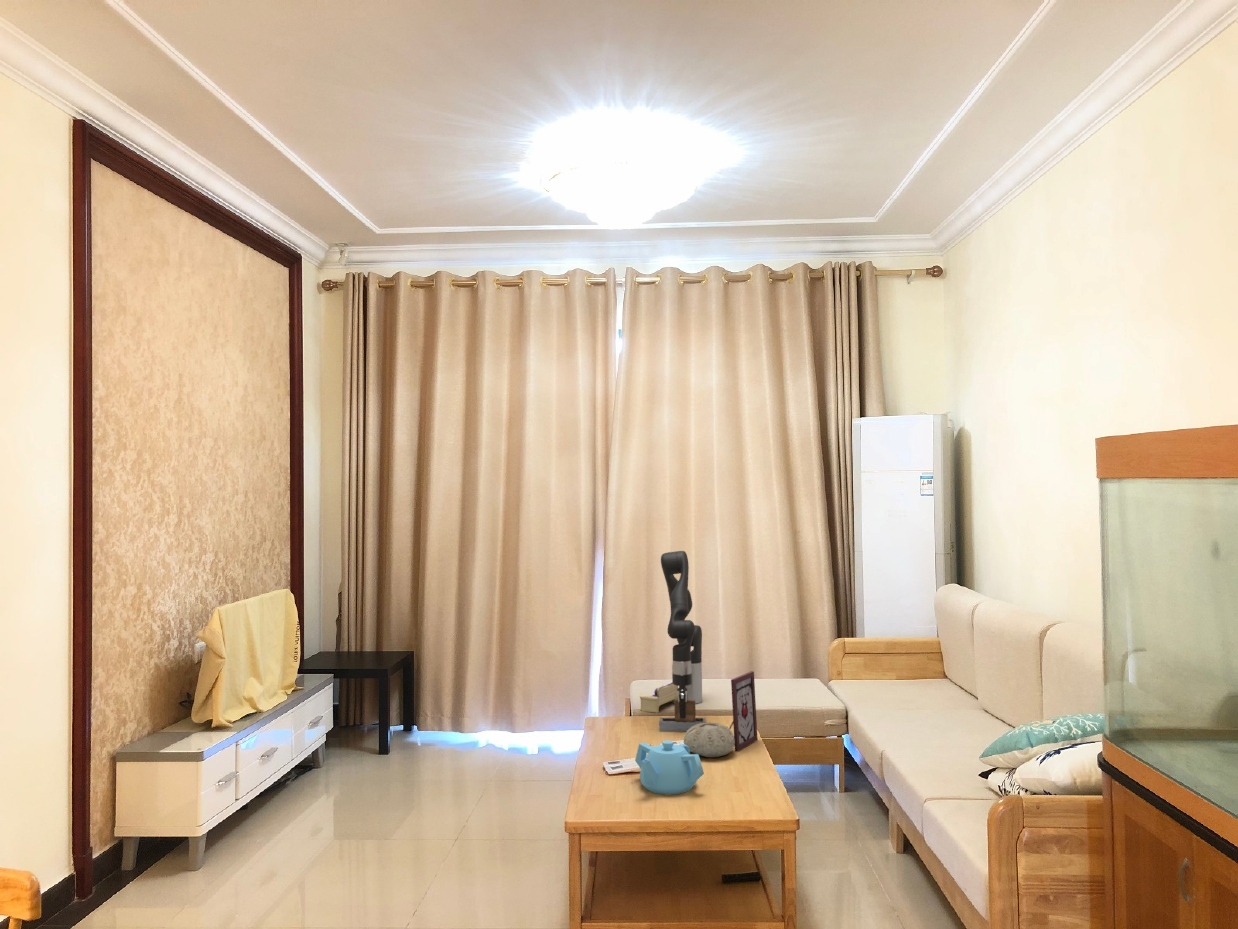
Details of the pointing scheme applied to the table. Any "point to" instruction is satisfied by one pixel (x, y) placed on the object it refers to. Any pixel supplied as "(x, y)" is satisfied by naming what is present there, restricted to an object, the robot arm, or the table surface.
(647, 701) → the toy sofa
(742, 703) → the picture frame
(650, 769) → the teapot
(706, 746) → the decorative shell
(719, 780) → the table surface
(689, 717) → the door panel
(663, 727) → the tray
